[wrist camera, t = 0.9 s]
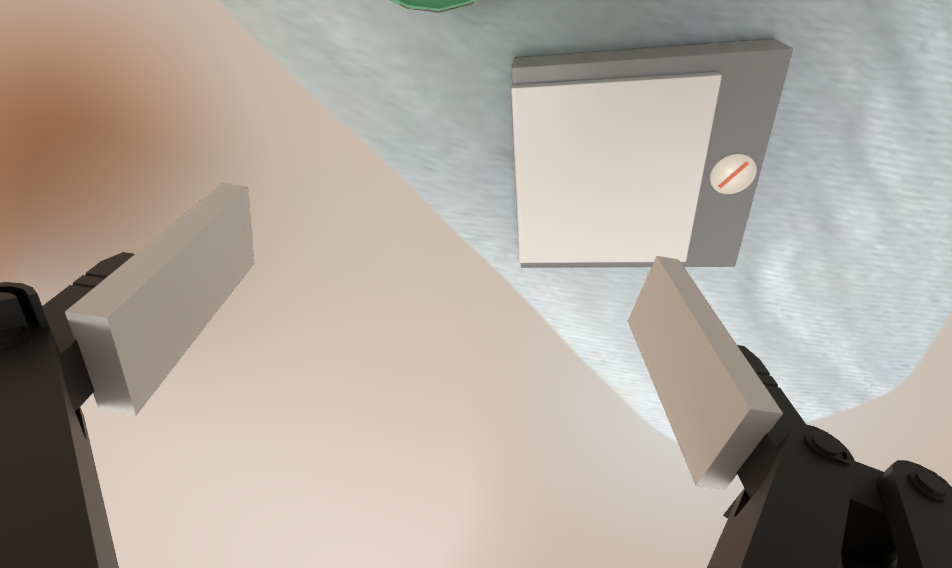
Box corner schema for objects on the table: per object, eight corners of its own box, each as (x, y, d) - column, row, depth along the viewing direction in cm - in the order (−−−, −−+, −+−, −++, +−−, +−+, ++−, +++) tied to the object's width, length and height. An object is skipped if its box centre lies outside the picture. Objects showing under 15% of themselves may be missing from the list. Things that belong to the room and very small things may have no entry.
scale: (773, 38, 30) (798, 51, 27) (723, 245, 39) (738, 272, 36) (514, 57, 32) (510, 71, 29) (522, 247, 41) (520, 273, 38)
